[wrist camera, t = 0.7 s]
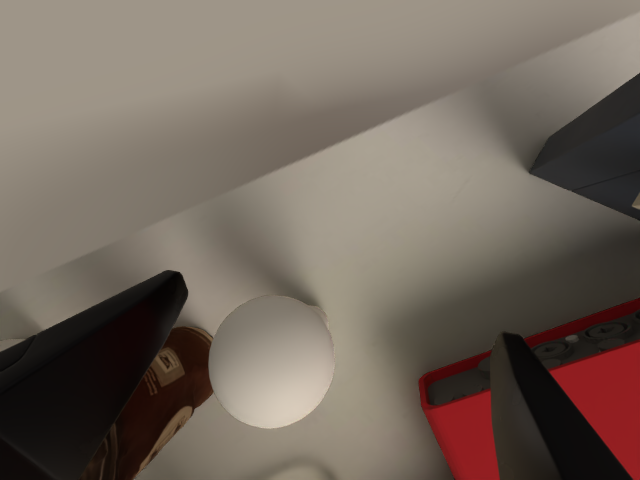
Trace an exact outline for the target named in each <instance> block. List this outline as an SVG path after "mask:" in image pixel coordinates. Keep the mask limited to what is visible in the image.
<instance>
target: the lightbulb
mask: <svg viewBox="0 0 640 480" xmlns="http://www.w3.org/2000/svg"><path fill="white" fill-rule="evenodd" d="M328 327H329V322H328V318H327V315H326V314H325V312H324V311H323V310H322V309H320V308H319V307H316V306H312V305H311V306H308V305H306V304H305V303H303V302H301V301H299V300H296V299H294V298H291V297H286V296H279V295H268V296H262V297H258V298H255V299H252V300H249V301H247V302H246V303H244V304H242V305H240V306H239V307H237V308H236V309H235V310H234V311H233V312H232V313H230V314H229V315H228V316H227V317H226V319H225V320H224V321H223V323H222V324H221V325H220V327H219V329H218V330H217V332H216V334H215V336H214V338H213V340H212V344H211V348H210V351H209V362H208V367H209V378H210V381H211V385H212V388H213V391H214V393H215V395H216V397H217V399H218V400H219V402H220V403H221V405H222V406H223V407H224V408H225V409H226V410H227V411H228V413H229V414H231V415H232V416H233V417H235V418H236V419H237V420H239V421H241V422H243V423H245V424H247V425H251V426H255V427H259V428H271V429H274V428H280V427H285V426H287V425H290V424H292V423H294V422H297V421H299V420H301V419H302V418H304V417H305V416H306V415H308V414H309V413H310V412H312V411H313V410H314V409H315V408H316V407H317V406H318V404H319V403H320V402H321V401H322V400H323V398H324V396H325V394H326V392H327V391H328V389H329V387H330V384H331V381H332V378H333V375H334V367H335V353H334V344H333V341H332V337H331V334H330V332H329V330H328Z"/></svg>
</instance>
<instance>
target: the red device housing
mask: <svg viewBox="0 0 640 480" xmlns="http://www.w3.org/2000/svg"><path fill="white" fill-rule="evenodd" d="M524 340H525V341H526V343H527V344H528V345H529V347H530V348H531V349H532V350H533V352H534V353H535V354H536V356H537V357H538V358H539V359H540V361H541V362H542V363H543V364H544V366H545V367H546V368H547V370H548V371H549V372H550V373H551V375H552V376H553V377H554V379H555V380H556V381H557V382H558V384H559V385H560V386H561V387H562V389H563V390H564V391H565V393H566V394H567V395H568V396H569V398H570V399H571V400H572V402H573V403H574V404H575V405H576V407H577V408H578V409H579V410H580V412H581V413H582V414H583V416H584V417H585V418H586V419H587V421H588V422H589V423H590V425H591V426H592V427H593V428H594V430H595V431H596V432H597V433H598V435H599V436H600V437H601V439H602V440H603V441H604V442H605V444H606V445H607V446H608V448H609V449H610V450H611V451H612V453H613V454H614V455H615V457H616V458H617V459H618V460H619V462H620V463H621V464H622V465H623V467H624V468H625V469H626V471H627V472H628V473H629V474H630V476H631V477H632V478H633V480H640V298H638V299H635V300H632V301H629V302H626V303H624V304H621V305H618V306H615V307H612V308H609V309H607V310H604V311H601V312H598V313H595V314H592V315H590V316H587V317H584V318H581V319H578V320H575V321H573V322H570V323H567V324H564V325H561V326H558V327H556V328H553V329H550V330H547V331H544V332H541V333H539V334H536V335H533V336H530V337H527V338H525V339H524ZM491 351H492V350H491ZM491 351H488V352H485V353H482V354H479V355H476V356H474V357H471V358H468V359H465V360H462V361H459V362H457V363H454V364H451V365H448V366H445V367H442V368H440V369H437V370H434V371H431V372H428V373H426V374H424V375H423V376H422V377H421V378H420V379H419V381H418V382H419V391H420V400H421V407H422V409H423V411H424V413H425V415H426V418H427V420H428V422H429V424H430V426H431V429H432V431H433V433H434V435H435V437H436V439H437V442H438V444H439V446H440V448H441V450H442V452H443V455H444V457H445V459H446V461H447V463H448V466H449V468H450V470H451V472H452V474H453V476H454V479H455V480H500V478H499V471H498V464H497V457H496V450H495V443H494V436H493V429H492V419H491V383H490V355H491Z"/></svg>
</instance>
